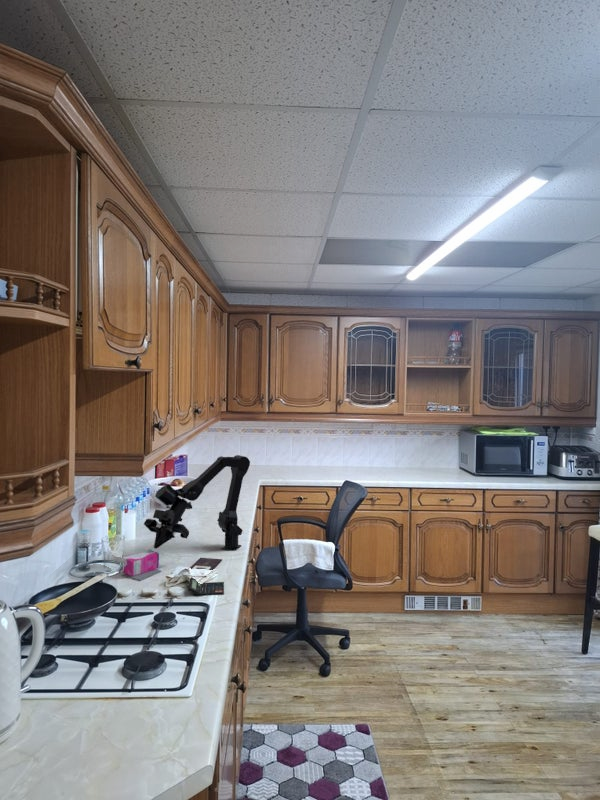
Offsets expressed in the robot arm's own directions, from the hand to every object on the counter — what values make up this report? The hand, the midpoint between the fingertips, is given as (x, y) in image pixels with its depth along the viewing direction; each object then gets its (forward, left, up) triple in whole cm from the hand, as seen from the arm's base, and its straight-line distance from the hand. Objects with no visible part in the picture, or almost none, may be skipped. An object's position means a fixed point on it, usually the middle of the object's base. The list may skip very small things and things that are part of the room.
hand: (155, 548), depth 182 cm
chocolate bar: (-7, +17, -8) cm, 20 cm away
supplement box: (-1, 0, -4) cm, 4 cm away
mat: (+7, -1, -8) cm, 10 cm away
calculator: (+11, +27, -8) cm, 31 cm away
